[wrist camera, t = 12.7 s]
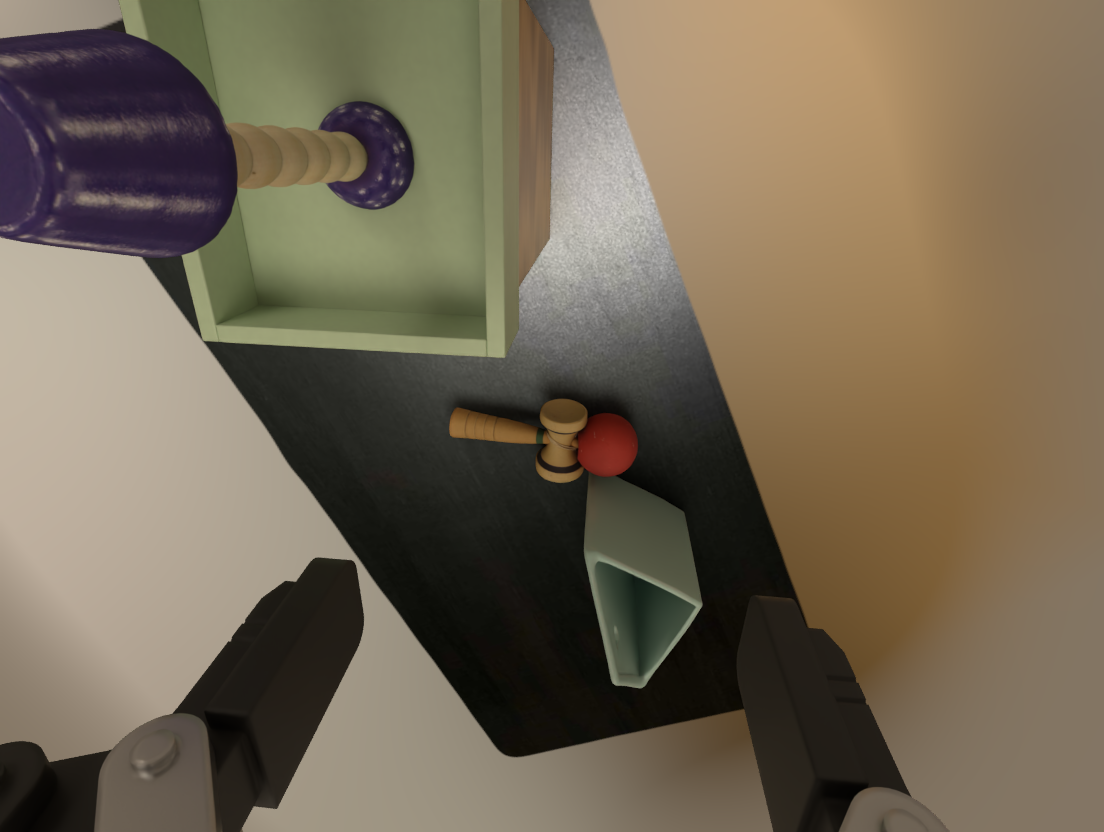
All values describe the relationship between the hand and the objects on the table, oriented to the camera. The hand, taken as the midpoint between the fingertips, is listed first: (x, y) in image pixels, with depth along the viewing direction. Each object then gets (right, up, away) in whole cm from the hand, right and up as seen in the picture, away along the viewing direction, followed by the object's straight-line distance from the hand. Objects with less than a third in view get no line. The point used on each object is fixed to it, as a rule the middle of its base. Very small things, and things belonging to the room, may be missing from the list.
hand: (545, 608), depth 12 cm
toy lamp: (-8, +15, +13) cm, 22 cm away
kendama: (0, +3, +46) cm, 46 cm away
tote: (-8, +16, +14) cm, 22 cm away
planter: (+10, -7, +49) cm, 51 cm away
